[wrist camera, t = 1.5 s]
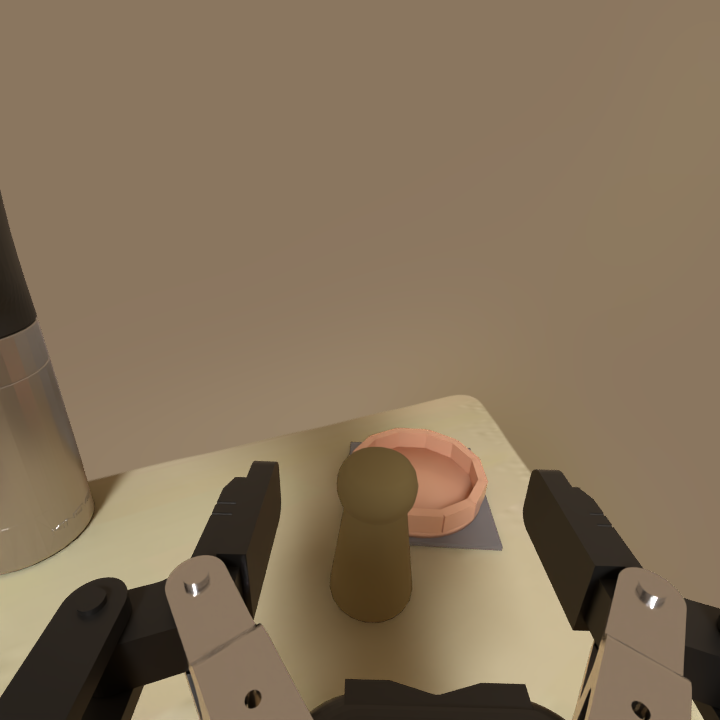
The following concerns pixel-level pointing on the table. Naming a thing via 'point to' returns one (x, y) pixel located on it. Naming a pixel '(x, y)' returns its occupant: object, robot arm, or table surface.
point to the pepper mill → (374, 534)
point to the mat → (464, 530)
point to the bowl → (437, 480)
